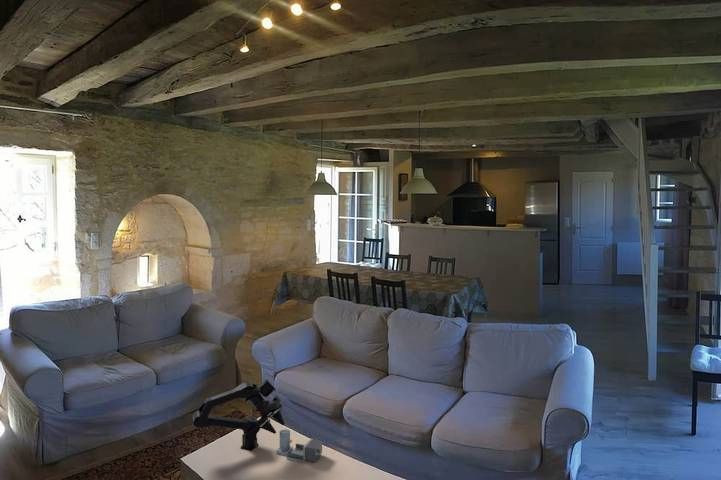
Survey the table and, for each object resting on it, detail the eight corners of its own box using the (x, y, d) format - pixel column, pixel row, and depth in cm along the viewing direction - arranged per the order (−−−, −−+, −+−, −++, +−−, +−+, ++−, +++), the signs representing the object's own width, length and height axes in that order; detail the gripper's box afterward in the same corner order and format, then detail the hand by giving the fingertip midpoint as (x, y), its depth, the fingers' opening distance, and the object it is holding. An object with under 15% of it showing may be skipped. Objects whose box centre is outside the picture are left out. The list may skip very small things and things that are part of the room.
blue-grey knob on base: (276, 453, 235) (276, 433, 234) (282, 447, 241) (282, 428, 240) (288, 456, 233) (288, 436, 232) (294, 450, 238) (294, 430, 237)
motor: (286, 459, 230) (286, 444, 230) (297, 447, 241) (297, 434, 240) (316, 465, 225) (316, 451, 225) (325, 453, 236) (325, 439, 235)
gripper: (261, 401, 228) (282, 428, 226) (279, 387, 246) (298, 411, 244) (246, 415, 231) (266, 441, 229) (264, 399, 249) (284, 423, 247)
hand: (279, 428), depth 237 cm, fingers open, 9 cm apart
